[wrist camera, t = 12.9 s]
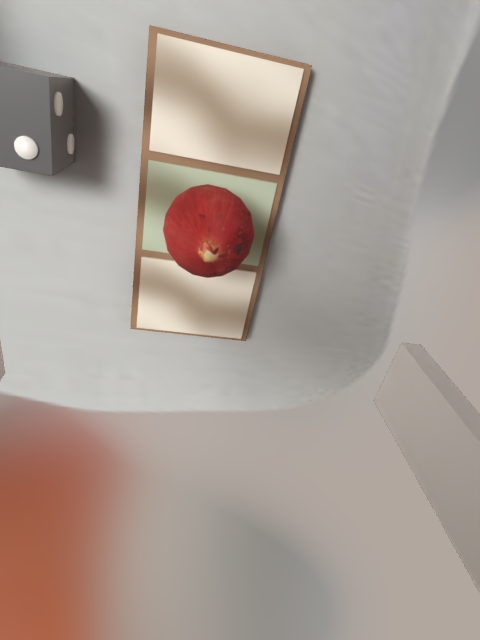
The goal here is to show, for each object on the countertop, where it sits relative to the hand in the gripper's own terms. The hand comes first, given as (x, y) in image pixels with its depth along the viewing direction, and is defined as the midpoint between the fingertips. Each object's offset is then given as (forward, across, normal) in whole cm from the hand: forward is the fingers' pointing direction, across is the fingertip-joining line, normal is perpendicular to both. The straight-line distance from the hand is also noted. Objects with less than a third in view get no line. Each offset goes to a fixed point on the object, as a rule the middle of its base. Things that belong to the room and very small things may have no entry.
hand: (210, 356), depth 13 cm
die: (+19, -12, +4) cm, 23 cm away
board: (+19, 0, -1) cm, 19 cm away
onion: (+18, 0, -1) cm, 18 cm away
